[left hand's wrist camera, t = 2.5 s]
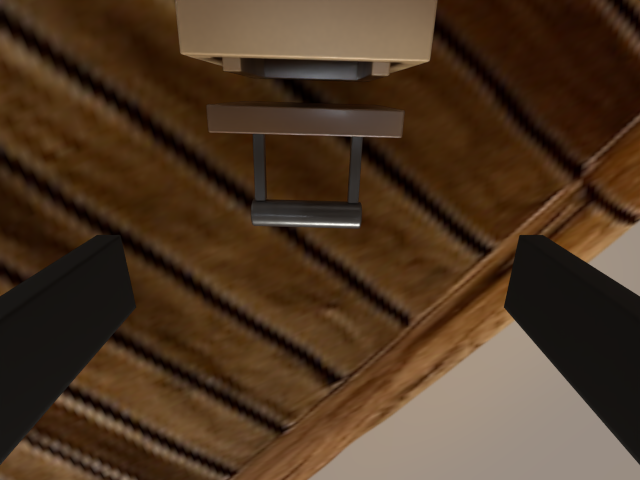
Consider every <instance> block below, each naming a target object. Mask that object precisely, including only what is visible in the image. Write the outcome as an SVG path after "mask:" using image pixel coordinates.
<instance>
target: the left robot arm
mask: <svg viewBox="0 0 640 480" xmlns="http://www.w3.org/2000/svg"><path fill="white" fill-rule="evenodd" d="M135 308H136V305H135V300H134V295H133V291H132V286H131V282H130V277H129V272H128V268H127V263H126V259H125V254H124V249H123V245H122V240H121V236H120V235H97V236H95V237H93V238H92V239H90V240H89V241H87V242H85V243H84V244H82V245H81V246H79V247H78V248H76V249H74V250H73V251H71V252H70V253H68V254H67V255H65V256H63V257H62V258H60V259H59V260H57V261H55V262H54V263H52V264H51V265H49V266H48V267H46V268H44V269H43V270H41V271H40V272H38V273H37V274H35V275H33V276H32V277H30V278H29V279H27V280H25V281H24V282H22V283H21V284H19V285H18V286H16V287H14V288H13V289H11V290H10V291H8V292H7V293H5V294H3V295H2V296H0V464H1V463H2V462H3V461H4V460H5V459H6V458H7V456H8V455H9V454H10V453H11V452H12V451H13V449H14V448H15V447H16V446H17V445H18V444H19V442H20V441H21V440H22V439H23V438H24V437H25V435H26V434H27V433H28V432H29V431H30V430H31V429H32V427H33V426H34V425H35V424H36V423H37V422H38V420H39V419H40V418H41V417H42V416H43V415H44V413H45V412H46V411H47V410H48V409H49V408H50V406H51V405H52V404H53V403H54V402H55V401H56V400H57V398H58V397H59V396H60V395H61V394H62V393H63V391H64V390H65V389H66V388H67V387H68V386H69V384H70V383H71V382H72V381H73V380H74V379H75V378H76V376H77V375H78V374H79V373H80V372H81V371H82V369H83V368H84V367H85V366H86V365H87V364H88V362H89V361H90V360H91V359H92V358H93V357H94V355H95V354H96V353H97V352H98V351H99V350H100V349H101V347H102V346H103V345H104V344H105V343H106V342H107V340H108V339H109V338H110V337H111V336H112V335H113V333H114V332H115V331H116V330H117V329H118V328H119V326H120V325H121V324H122V323H123V322H124V321H125V320H126V318H127V317H128V316H129V315H130V314H131V313H132V311H133V310H134V309H135ZM504 308H505V309H506V310H507V311H508V313H509V314H510V315H511V316H512V317H513V318H514V320H515V321H516V322H517V323H518V324H519V325H520V326H521V328H522V329H523V330H524V331H525V332H526V333H527V335H528V336H529V337H530V338H531V339H532V340H533V342H534V343H535V344H536V345H537V346H538V347H539V348H540V350H541V351H542V352H543V353H544V354H545V355H546V357H547V358H548V359H549V360H550V361H551V362H552V364H553V365H554V366H555V367H556V368H557V369H558V371H559V372H560V373H561V374H562V375H563V376H564V377H565V379H566V380H567V381H568V382H569V383H570V384H571V386H572V387H573V388H574V389H575V390H576V391H577V393H578V394H579V395H580V396H581V397H582V398H583V400H584V401H585V402H586V403H587V404H588V405H589V406H590V408H591V409H592V410H593V411H594V412H595V413H596V414H597V416H598V417H599V418H600V419H601V420H602V422H603V423H604V424H605V425H606V426H607V427H608V429H609V430H610V431H611V432H612V433H613V434H614V435H615V437H616V438H617V439H618V440H619V441H620V442H621V444H622V445H623V446H624V447H625V448H626V449H627V451H628V452H629V453H630V454H631V455H632V456H633V458H634V459H635V460H636V461H637V462H638V463H639V464H640V296H638V295H637V294H635V293H633V292H632V291H630V290H629V289H627V288H626V287H624V286H622V285H621V284H619V283H618V282H616V281H614V280H613V279H611V278H610V277H608V276H607V275H605V274H603V273H602V272H600V271H599V270H597V269H596V268H594V267H592V266H591V265H589V264H588V263H586V262H585V261H583V260H581V259H580V258H578V257H577V256H575V255H573V254H572V253H570V252H569V251H567V250H566V249H564V248H562V247H561V246H559V245H558V244H556V243H555V242H553V241H551V240H550V239H548V238H547V237H545V236H543V235H520V236H519V240H518V245H517V249H516V254H515V259H514V263H513V268H512V272H511V277H510V282H509V286H508V291H507V295H506V300H505V305H504Z"/></svg>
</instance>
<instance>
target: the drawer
mask: <svg viewBox="0 0 640 480" xmlns="http://www.w3.org/2000/svg"><path fill="white" fill-rule="evenodd" d="M222 62H223V71H226V72H231V73H235V74H239V75H243V76H247V77H252V78H261V79H295V80H329V81H363V82H368V81H371V80H375V79H378V78H382V77H385V76H388V75H389V74H390V63H391V62H369V61H335V60H302V59H268V58H234V57H222ZM206 107H207V119H208V131H209V132H215V133H250V134H253V152H254V177H255V199H254V200H253V202H252V206H251V220H252V224H253V225H254V226H285V227H322V228H360V226H361V218H362V206H361V203H360V202H358V199H359V184H360V169H361V155H362V140H363V137H391V138H401V137H402V132H403V122H404V113H405V112H404V110H400V109H395V108H390V107H384V106H379V105H360V104H326V103H291V102H257V101H241V102H230V103H219V104H208V105H207V106H206ZM265 134H285V135H320V136H351V147H350V164H349V182H348V202H341V201H304V200H268V199H266V198H267V188H266V152H265Z"/></svg>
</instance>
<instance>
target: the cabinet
mask: <svg viewBox="0 0 640 480" xmlns="http://www.w3.org/2000/svg"><path fill="white" fill-rule="evenodd" d="M175 5H176V15H177V25H178V35H179V44H180V52H181V54H183V55H187V56H189V57H193V58H196V59H200V60H203V61H207V62H210V63H214V64H217V65H221V66H223V62H222V57H234V58H268V59H302V60H335V61H369V62H391V63H390V73H393V72H396V71H399V70H402V69H406V68H409V67H412V66H415V65H419V64H422V63H425V62H428V61H429V60H430V56H431V48H432V40H433V32H434V24H435V16H436V8H437V0H175Z"/></svg>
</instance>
